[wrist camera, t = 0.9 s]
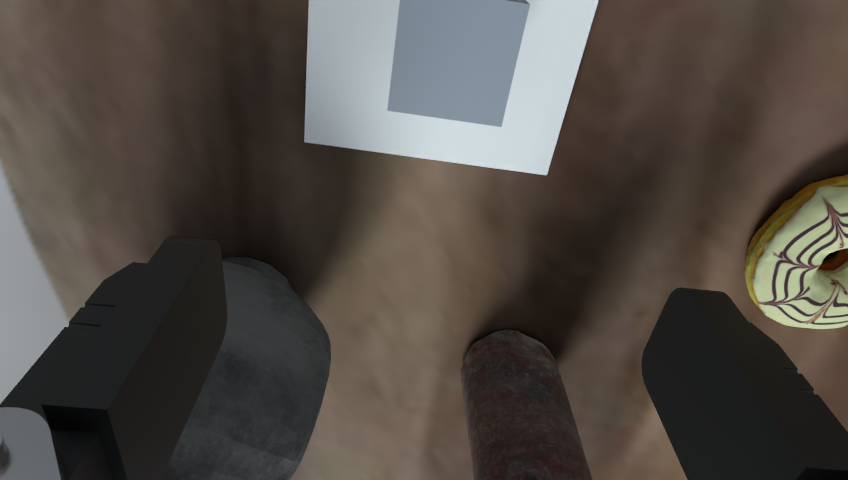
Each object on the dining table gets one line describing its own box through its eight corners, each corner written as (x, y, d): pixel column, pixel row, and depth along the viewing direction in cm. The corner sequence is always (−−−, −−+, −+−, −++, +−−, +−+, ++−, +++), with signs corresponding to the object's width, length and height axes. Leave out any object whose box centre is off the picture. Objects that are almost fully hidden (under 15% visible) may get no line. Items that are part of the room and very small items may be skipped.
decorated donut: (937, 181, 34) (991, 209, 31) (840, 311, 40) (877, 346, 36) (786, 155, 33) (826, 182, 30) (708, 292, 39) (734, 327, 35)
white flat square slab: (321, -162, 24) (314, -168, 23) (616, -108, 26) (630, -109, 24) (310, 129, 32) (304, 142, 30) (540, 161, 33) (546, 175, 31)
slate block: (405, -33, 25) (401, -17, 20) (508, -16, 26) (530, 4, 21) (393, 73, 28) (387, 110, 23) (487, 87, 28) (501, 127, 23)
